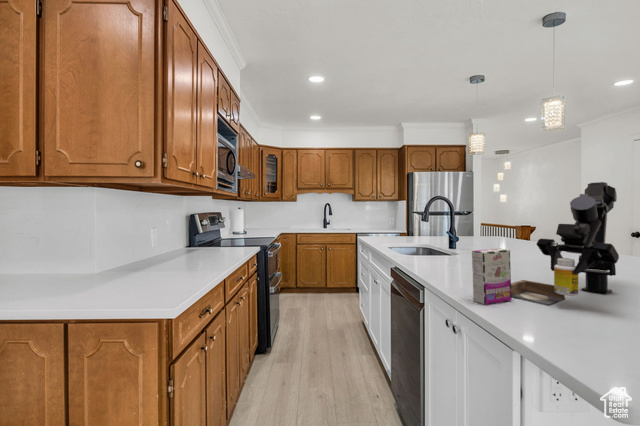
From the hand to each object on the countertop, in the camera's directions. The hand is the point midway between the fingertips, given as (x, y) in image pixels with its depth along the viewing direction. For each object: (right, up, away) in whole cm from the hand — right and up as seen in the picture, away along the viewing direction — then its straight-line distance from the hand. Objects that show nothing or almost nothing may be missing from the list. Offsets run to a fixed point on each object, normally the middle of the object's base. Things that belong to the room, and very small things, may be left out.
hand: (563, 271), depth 89 cm
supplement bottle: (+1, -7, +1) cm, 7 cm away
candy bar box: (-16, -11, +8) cm, 21 cm away
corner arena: (-1, -11, +10) cm, 15 cm away
